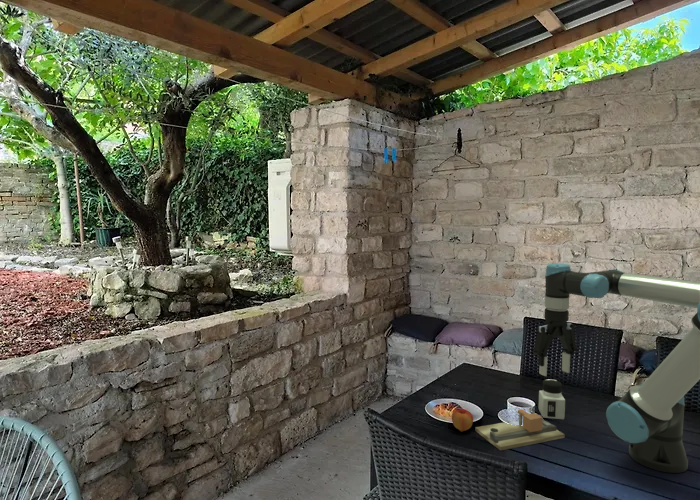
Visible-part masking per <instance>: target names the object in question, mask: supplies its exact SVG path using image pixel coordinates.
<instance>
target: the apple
mask: <svg viewBox="0 0 700 500" xmlns="http://www.w3.org/2000/svg"><path fill="white" fill-rule="evenodd" d="M461 407H462V406H459V408H460V409H456V410H454V411H453V412H452V413H451V414H452V415H451V422H452V424H453V426H454V428H456V429H457V430H459V431H460V432H465V431H468V430H469V429H471V428H472V426H473V424H474V416H473V413H471V412H470V411H469V410H467V409H466V408H461Z"/></svg>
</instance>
